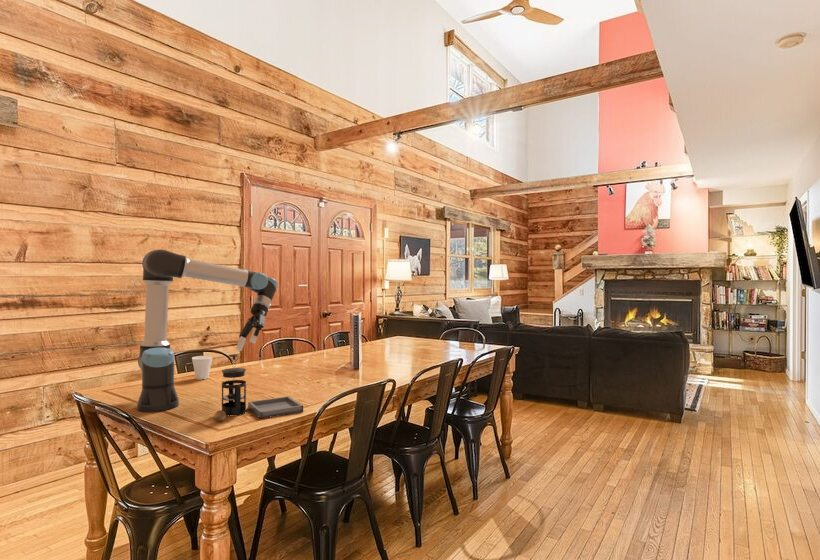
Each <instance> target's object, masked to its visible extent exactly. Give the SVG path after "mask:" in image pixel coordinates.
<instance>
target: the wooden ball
mask: <svg viewBox="0 0 820 560" xmlns="http://www.w3.org/2000/svg"><path fill="white" fill-rule="evenodd" d="M226 417H227V416H226V413H225V412H224V411H222V409H220V410H217V411H216V412H215V413H214V419H215V421H216V422H219V421H220V422H223V421H224V420H226Z"/></svg>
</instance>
